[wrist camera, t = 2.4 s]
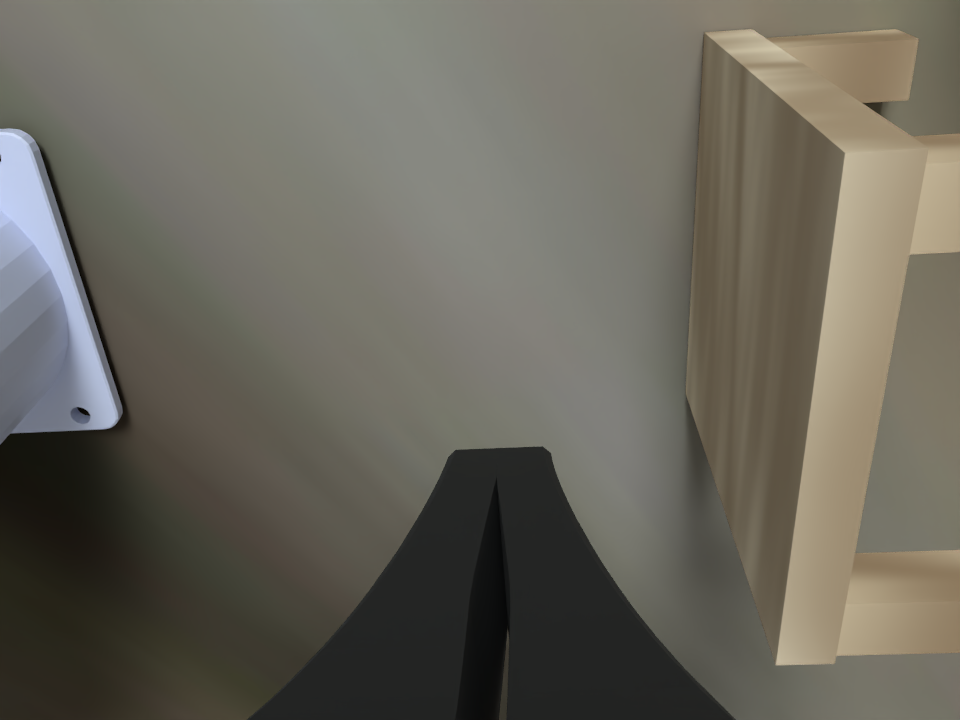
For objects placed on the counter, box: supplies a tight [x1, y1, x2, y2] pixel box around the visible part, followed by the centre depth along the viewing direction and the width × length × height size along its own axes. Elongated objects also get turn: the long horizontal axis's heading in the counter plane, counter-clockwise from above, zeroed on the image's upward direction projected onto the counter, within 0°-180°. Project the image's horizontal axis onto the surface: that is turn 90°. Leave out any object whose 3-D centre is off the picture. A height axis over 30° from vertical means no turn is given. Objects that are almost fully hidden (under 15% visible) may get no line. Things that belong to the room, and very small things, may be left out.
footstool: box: [685, 29, 960, 665], centre depth 17 cm, size 4×9×9 cm, turn 4°
